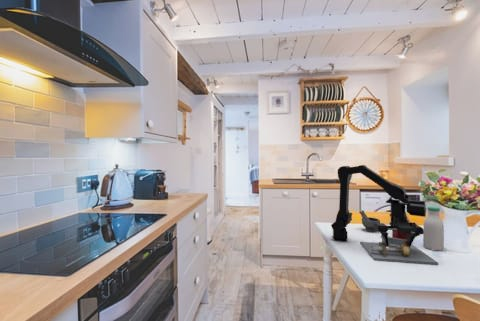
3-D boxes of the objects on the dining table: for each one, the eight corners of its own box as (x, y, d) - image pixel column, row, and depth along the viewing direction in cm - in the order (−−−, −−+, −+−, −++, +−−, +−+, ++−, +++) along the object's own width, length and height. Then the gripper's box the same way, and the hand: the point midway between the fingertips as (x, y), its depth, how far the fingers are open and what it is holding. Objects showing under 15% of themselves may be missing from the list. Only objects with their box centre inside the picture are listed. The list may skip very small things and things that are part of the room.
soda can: (411, 243, 121) (411, 220, 120) (395, 242, 122) (395, 219, 122) (404, 238, 128) (404, 216, 128) (389, 238, 129) (389, 216, 129)
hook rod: (372, 254, 104) (372, 244, 104) (368, 250, 109) (368, 241, 109) (410, 257, 102) (410, 247, 101) (405, 253, 106) (405, 243, 106)
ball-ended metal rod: (380, 244, 117) (380, 236, 117) (381, 241, 120) (381, 234, 120) (409, 249, 110) (409, 241, 110) (409, 247, 113) (409, 239, 113)
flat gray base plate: (374, 260, 102) (374, 258, 102) (360, 243, 121) (360, 241, 121) (438, 264, 97) (438, 262, 97) (412, 246, 117) (412, 244, 117)
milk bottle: (445, 252, 110) (445, 209, 109) (424, 249, 114) (424, 207, 113) (442, 246, 116) (442, 206, 116) (422, 243, 120) (422, 204, 120)
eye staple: (383, 258, 103) (383, 246, 103) (378, 254, 108) (378, 242, 108) (386, 259, 103) (386, 246, 103) (381, 254, 108) (381, 242, 108)
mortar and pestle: (378, 229, 145) (378, 209, 145) (382, 233, 136) (382, 213, 136) (357, 227, 149) (358, 208, 149) (360, 232, 140) (360, 211, 140)
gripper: (382, 216, 104) (382, 252, 104) (431, 218, 100) (430, 255, 100) (373, 211, 115) (373, 243, 115) (416, 212, 111) (416, 245, 111)
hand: (397, 246), depth 110 cm, fingers open, 9 cm apart
